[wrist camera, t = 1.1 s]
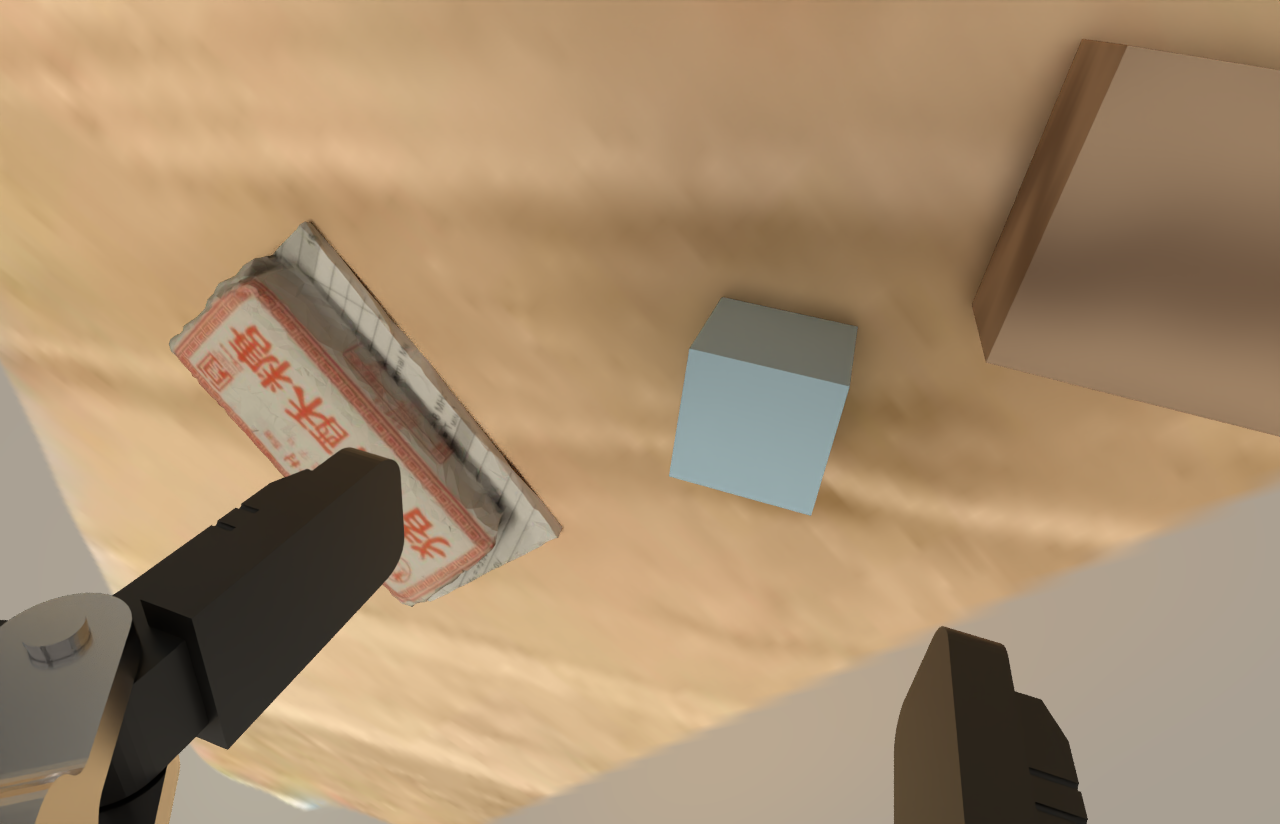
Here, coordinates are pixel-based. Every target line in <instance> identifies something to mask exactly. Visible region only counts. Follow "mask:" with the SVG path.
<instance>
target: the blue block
mask: <svg viewBox="0 0 1280 824" xmlns="http://www.w3.org/2000/svg"><path fill="white" fill-rule="evenodd" d="M857 329H858V327H857V326H853V325H848V324H843V323H839V322H834V321H830V320H825V319H821V318H816V317H811V316H807V315H802V314H798V313H793V312H789V311H784V310H779V309H775V308H770V307H766V306H761V305H757V304H752V303H747V302H743V301H738V300H734V299H729V298H725V297H722V298H721V299H720V301H719V303H718V304H717V306H716V307H715V309H714V311H713V312H712V314H711V315H710V317H709V318H708V320H707V322H706V323H705V325H704V326H703V328H702V330H701V331H700V333H699V334H698V336H697V337H696V339H695V341H694V342H693V344H692V345H691V347H690V349H689V355H688V361H687V367H686V373H685V380H684V386H683V392H682V398H681V405H680V411H679V417H678V423H677V430H676V436H675V442H674V448H673V455H672V461H671V467H670V473H669V476H670V477H674V478H677V479H681V480H684V481H688V482H691V483H695V484H699V485H702V486H706V487H709V488H713V489H717V490H720V491H724V492H727V493H731V494H735V495H738V496H742V497H745V498H749V499H753V500H756V501H760V502H763V503H767V504H771V505H774V506H778V507H781V508H785V509H789V510H792V511H796V512H799V513H803V514H807V515H810V516H811V514H812V511H813V507H814V504H815V501H816V497H817V494H818V491H819V487H820V484H821V481H822V477H823V474H824V471H825V467H826V464H827V460H828V457H829V454H830V450H831V447H832V444H833V440H834V437H835V434H836V430H837V427H838V424H839V420H840V417H841V414H842V410H843V407H844V404H845V400H846V397H847V394H848V390H849V387H850V380H851V373H852V365H853V358H854V351H855V343H856V336H857Z"/></svg>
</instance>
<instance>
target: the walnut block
mask: <svg viewBox="0 0 1280 824" xmlns="http://www.w3.org/2000/svg"><path fill="white" fill-rule="evenodd" d="M972 307H973V311H974V315H975V319H976V323H977V327H978V332H979V336H980V340H981V344H982V348H983V352H984V356H985V360H986V363H990V364H994V365H998V366H1002V367H1006V368H1010V369H1013V370H1017V371H1021V372H1025V373H1029V374H1033V375H1037V376H1041V377H1045V378H1049V379H1053V380H1057V381H1061V382H1065V383H1069V384H1073V385H1077V386H1081V387H1085V388H1089V389H1093V390H1097V391H1101V392H1105V393H1109V394H1113V395H1117V396H1121V397H1125V398H1128V399H1132V400H1136V401H1140V402H1144V403H1148V404H1152V405H1156V406H1160V407H1164V408H1168V409H1172V410H1176V411H1180V412H1184V413H1188V414H1192V415H1196V416H1200V417H1204V418H1208V419H1212V420H1216V421H1220V422H1224V423H1228V424H1232V425H1236V426H1240V427H1243V428H1247V429H1251V430H1255V431H1259V432H1263V433H1267V434H1271V435H1275V436H1279V437H1280V70H1276V69H1270V68H1264V67H1258V66H1251V65H1245V64H1239V63H1233V62H1227V61H1221V60H1215V59H1209V58H1202V57H1196V56H1190V55H1184V54H1178V53H1172V52H1166V51H1160V50H1153V49H1147V48H1141V47H1135V46H1129V45H1122V44H1115V43H1108V42H1100V41H1093V40H1086V39H1082V41H1081V43H1080V45H1079V48H1078V50H1077V53H1076V55H1075V57H1074V60H1073V62H1072V65H1071V67H1070V69H1069V72H1068V74H1067V77H1066V79H1065V82H1064V84H1063V86H1062V89H1061V91H1060V94H1059V96H1058V98H1057V101H1056V103H1055V106H1054V108H1053V110H1052V113H1051V115H1050V118H1049V120H1048V122H1047V125H1046V127H1045V130H1044V132H1043V135H1042V137H1041V139H1040V142H1039V144H1038V147H1037V149H1036V151H1035V154H1034V156H1033V159H1032V161H1031V163H1030V166H1029V168H1028V171H1027V173H1026V176H1025V178H1024V180H1023V183H1022V185H1021V188H1020V190H1019V192H1018V195H1017V197H1016V200H1015V202H1014V204H1013V207H1012V209H1011V212H1010V214H1009V216H1008V219H1007V221H1006V224H1005V226H1004V229H1003V231H1002V233H1001V236H1000V238H999V241H998V243H997V245H996V248H995V250H994V253H993V255H992V257H991V260H990V262H989V265H988V267H987V269H986V272H985V274H984V277H983V279H982V282H981V284H980V286H979V289H978V291H977V294H976V296H975V298H974V301H973V303H972Z"/></svg>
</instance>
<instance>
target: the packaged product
mask: <svg viewBox="0 0 1280 824" xmlns="http://www.w3.org/2000/svg"><path fill="white" fill-rule="evenodd" d="M169 346H170V349H171V352H172V353H174V354H175V355H176V356H177V357H178V358H179V360H180V361H181V362H182V363H183V364H184V366H185V367H186V368H187V369H188V370H189V371H190V372H191V373H192V376H193V377H195V378H197V380H198V382H199V384H200V385H201V386H202V387H203V388H204V389H205V390H206V391H207V392H208V393H209V394H210V395H211V397H212V398H214V399H215V400H216V401H217V402H218V404H219V405H220V406H221V407H223V408H224V409H225V411H226V412H227V414H228V415H229V416H230V417H231V419H232V420H233V421H234V422H235V423H236V424H237V425H238V426H239V427H240V428H241V429H242V430H243V431H244V432H245V433H246V434H247V436H248V437H249V438H250V439H251V440H252V442H253V443H254V444H255V445H256V446H257V447H258V448H259V449H260V450H261V452H262V453H263V454H264V455H265V456H266V457H267V458H268V459H269V460H270V461H271V462H272V463H273V465H274V466H275V467H276V468H277V469H278V471H279V472H280V473H281V474H282V475H283V476H284V477H287V476H290V475H292V474H295V473H297V472H300V471H302V470H305V469H309V470H314V469H315V468H316V467H318V466H319V465H320V464H322V463H323V462H324V461H326V460H327V459H328V458H330V457H331V456H332V455H334V454H335V453H336V452H338V451H339V450H341V449H343V448H347V447H352V448H355V449H359V450H362V451H366V452H369V453H372V454H376V455H379V456H382V457H386V458H389V459H392V460H394V461H396V462H397V464H398V465H399V468H400V473H401V488H402V504H403V520H404V547H403V551H402V554H401V557H400V560H399V562H398V564H397V566H396V568H395V569H394V571H393V572H392V574H391V575H390V576H389V578H388V579H387V580H386V581H385V582H384V583H383V585H384V586H385V587H386V588H387V589H388V590H389V591H390V593H391V594H392V596H394V597H395V598H397V599H398V600H399V601H400V602H401V603H402V604H405V605H409V606H411V607H413V606H414V605H415V604H417V603H420V602H426V601H427V600H428V601H433V600H435V599H437V598H439V597H441V596H444V595H446V594H448V593H450V592H451V591H453V590H455V589H456V588H459V587H461V586H464V585H465V584H467V583H469V582H471V581H473V580H475V579H477V578H478V577H480V576H482V575H484V574H486V573H487V572H489V571H491V570H493V569H495V568H498V567H500V566H502V565H504V564H505V563H508V562H510V561H512V560H514V559H516V558H518V557H520V556H522V555H524V554H526V553H528V552H530V551H532V550H534V549H536V548H538V547H540V546H542V545H543V544H544V543H546V542H547V541H550V540H552V539H555V538H558V536H559V534H560V532H561V529H562V527H561V525H560V524H559V523H558V521H557V520H556V519H555V518H554V516H553V515H552V514H551V512H550V511H549V510H548V509H547V507H546V506H545V505H544V503H543V502H542V501H541V500H540V498H539V497H538V496H537V495H536V494H535V493H534V492H533V491H532V490H531V489H530V488H529V487H528V486H527V485H526V484H525V482H524V481H523V480H522V479H521V478H520V477H519V476H518V475H517V474H516V473H515V472H514V471H513V470H512V468H511V467H510V465H509V464H508V463H507V461H506V460H505V458H504V457H503V455H502V454H501V453H500V452H499V451H498V450H497V448H496V447H495V446H494V444H493V443H492V442H491V441H490V439H489V438H488V437H487V436H486V434H485V433H484V432H483V431H482V429H481V428H480V427H479V425H478V424H477V423H476V422H475V420H474V419H473V418H472V417H471V415H470V414H469V413H468V412H467V410H466V409H465V408H464V406H463V405H462V404H461V403H460V401H459V400H458V399H457V398H456V397H455V395H454V394H453V393H452V392H451V391H450V389H449V388H448V387H447V386H446V384H445V383H444V381H443V380H442V379H441V377H440V376H439V375H438V373H437V372H436V371H435V369H434V368H433V366H432V365H431V364H430V363H429V361H428V360H427V359H426V358H425V357H424V355H423V354H422V353H421V352H419V350H418V348H417V347H416V346H415V345H414V343H413V342H412V341H411V340H410V339H409V338H408V337H407V336H406V335H405V334H404V333H403V332H402V331H401V330H400V329H399V328H398V327H397V326H396V325H395V323H394V322H393V321H392V320H391V319H390V318H389V316H388V315H387V314H386V312H385V311H384V310H383V308H382V307H381V306H380V305H379V303H378V302H377V301H376V300H375V299H374V298H373V296H372V295H371V294H370V293H369V292H368V291H367V290H366V288H365V287H364V286H363V285H362V284H361V283H360V281H359V280H358V279H357V277H356V276H355V275H354V274H353V272H352V271H351V270H350V269H349V267H348V266H347V265H346V264H345V262H344V261H343V260H342V258H341V257H340V256H339V255H338V253H337V252H336V251H335V250H334V249H333V248H332V247H331V245H330V244H329V243H328V242H327V241H326V240H325V239H324V238H323V236H322V235H321V234H320V233H319V232H318V231H317V230H316V228H315V227H314V225H313V224H312V223H309V222H306V221H305V222H303V223H302V224H300V225H299V227H298V228H297V230H296V231H295V232H294V233H293V234H292V235H291V236H290V237H289V238H288V239H287V240H286V241H285V242H284V243H283V244H282V245H281V246H280V247H279V248H278V249H277V250H276V252H275V253H274V254H273V255H271V256H265V257H262V258H255V259H253V260H251V261H250V262H248V263H247V264H245V265H244V266H243V267H242V268H241V269H240V271H239V272H238V273H237V275H235V276H234V277H232V278H229V279H227V280H225V281H223V282H221V283H219V284H218V286H217V288H216V289H215V292H214V294H213V295H212V296H211V297H210V298H209V299H208V300H207V304H206V307H205V309H204V310H203V311H202V312H201V313H200V314H199V315H198V316H197V317H196V318H195V319H193V320H192V321H190V322H189V323H187V324H186V325H184V327H183V331H182V332H181V333H180V334H178V335H176V336H174V337H173V338H171V340H170V342H169Z"/></svg>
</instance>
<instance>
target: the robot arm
mask: <svg viewBox="0 0 1280 824" xmlns="http://www.w3.org/2000/svg"><path fill="white" fill-rule="evenodd" d="M403 547H404V520H403V504H402V488H401V473H400V468H399V465H398V464H397V462H396V461H394V460H392V459H389V458H386V457H382V456H379V455H376V454H372V453H369V452H366V451H362V450H359V449H355V448H352V447H347V448H343V449H341V450H339V451H338V452H336V453H335V454H334V455H332V456H331V457H330V458H328V459H327V460H326V461H324V462H323V463H322V464H320V465H319V466H318V467H316V468H315V469H314V470H309V469H305V470H302V471H300V472H297V473H295V474H292V475H290V476H287V477H284V478H282V479H279V480H277V481H274V482H272V483H270V484H268V485H267V486H265V487H264V488H263V489H261V490H260V491H258V492H257V493H256V494H254V495H253V496H251V497H250V498H249V499H247V500H246V501H244V502H243V503H242V504H241V507H240V508H239V509H238V508H235V509H233V510H232V511H231V512H229V513H228V514H226V515H225V516H224V517H222V518H221V519H219V520H218V522H217V525H216V526H212V525H211V526H210V527H208V528H207V529H205V530H204V531H203V532H201V533H200V534H198V535H197V536H196V537H194V538H193V539H191V540H190V541H189V542H187V543H186V544H184V545H183V546H182V547H180V548H179V549H177V550H176V551H175V552H173V553H172V554H170V555H169V556H168V557H166V558H165V559H163V560H162V561H161V562H159V563H158V564H156V565H155V566H154V567H152V568H151V569H149V570H148V571H147V572H145V573H144V574H142V575H141V576H140V577H138V578H137V579H135V580H134V581H133V582H131V583H130V584H128V585H127V586H126V587H124V588H123V589H121V590H120V591H118V592H117V593H115V594H114V595H112V596H111V595H108V594H102V593H80V594H72V595H67V596H62V597H59V598H55V599H51V600H49V601H46V602H43V603H40V604H38V605H35V606H33V607H31V608H29V609H27V610H25V611H23V612H21V613H19V614H18V615H16V616H14V617H13V618H11V619H10V620H0V824H169V821H170V815H171V811H172V806H173V800H174V796H175V791H176V786H177V781H178V776H179V770H180V760H179V755H178V754H179V753H180V752H181V751H182V750H183V749H184V748H185V747H186V746H187V745H188V744H189V743H190V742H191V741H192V740H193V739H194V738H195V737H198V738H201V739H203V740H206V741H208V742H210V743H213V744H215V745H217V746H220V747H222V748H225V749H227V750H228V749H229V748H230V747H231V746H232V745H233V744H234V742H235V741H236V740H237V739H238V738H239V737H240V736H241V735H242V734H243V733H244V732H245V731H246V730H247V729H248V728H249V726H250V725H251V724H252V723H253V722H254V721H255V720H256V719H257V718H258V717H259V716H260V715H261V714H262V713H263V711H264V710H265V709H266V708H267V707H268V706H269V705H270V704H271V703H272V702H273V701H274V700H275V699H276V698H277V696H278V695H279V694H280V693H281V692H282V691H283V690H284V689H285V688H286V687H287V686H288V685H289V684H290V683H291V682H292V680H293V679H294V678H295V677H296V676H297V675H298V674H299V673H300V672H301V671H302V670H303V669H304V668H305V667H306V665H307V664H308V663H309V662H310V661H311V660H312V659H313V658H314V657H315V656H316V655H317V654H318V653H319V652H320V650H321V649H322V648H323V647H324V646H325V645H326V644H327V643H328V642H329V641H330V640H331V639H332V638H333V637H334V636H335V634H336V633H337V632H338V631H339V630H340V629H341V628H342V627H343V626H344V625H345V624H346V623H347V622H348V621H349V619H350V618H351V617H352V616H353V615H354V614H355V613H356V612H357V611H358V610H359V609H360V608H361V607H362V606H363V604H364V603H365V602H366V601H367V600H368V599H369V598H370V597H371V596H372V595H373V594H374V593H375V592H376V591H377V590H378V588H379V587H380V586H381V585H382V584H383V583H384V582H385V581H386V580H387V579H388V578H389V576H390V575H391V574H392V572H393V571H394V569H395V568H396V566H397V564H398V562H399V560H400V557H401V554H402V551H403ZM1078 784H1079V782H1078V778H1077V774H1076V770H1075V766H1074V762H1073V758H1072V754H1071V749H1070V745H1069V742H1068V740H1067V738H1066V737H1065V735H1064V734H1063V732H1062V731H1061V729H1060V727H1059V726H1058V724H1057V723H1056V721H1055V720H1054V718H1053V717H1052V715H1051V714H1050V712H1049V711H1048V709H1047V707H1046V706H1045V704H1044V703H1043V701H1042V700H1041V699H1038V698H1034V697H1031V696H1028V695H1025V694H1022V693H1018V692H1015V691H1014V686H1013V681H1012V675H1011V670H1010V664H1009V658H1008V654H1007V651H1006V648H1005V647H1004V645H1002V644H1001V643H997V642H994V641H990V640H987V639H984V638H980V637H977V636H974V635H970V634H967V633H964V632H960V631H957V630H954V629H950V628H947V627H944V626H941V627H940V628H939V629H938V630H937V631H936V633H935V635H934V636H933V639H932V641H931V643H930V645H929V647H928V650H927V652H926V654H925V656H924V659H923V660H922V663H921V665H920V667H919V669H918V672H917V674H916V676H915V678H914V680H913V683H912V685H911V687H910V689H909V691H908V693H907V696H906V698H905V700H904V702H903V705H902V708H901V712H900V715H899V719H898V724H897V728H896V735H895V744H894V824H1087V820H1088V818H1087V814H1086V810H1085V806H1084V802H1083V798H1082V794H1081V792H1079V791H1078Z"/></svg>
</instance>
